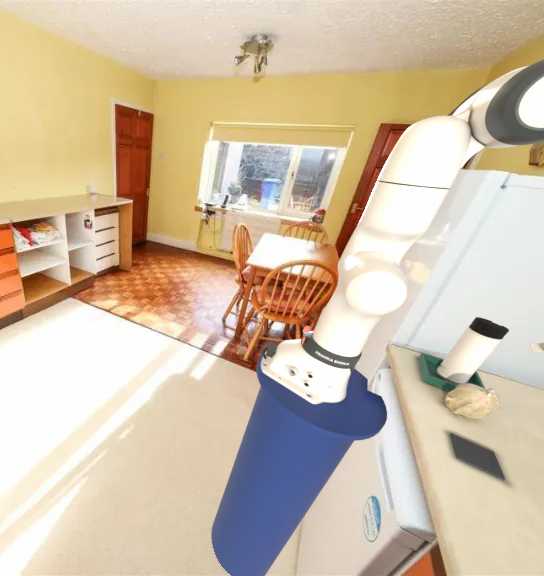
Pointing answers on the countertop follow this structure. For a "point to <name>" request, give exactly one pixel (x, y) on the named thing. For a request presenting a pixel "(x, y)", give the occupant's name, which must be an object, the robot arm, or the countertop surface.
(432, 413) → the countertop surface
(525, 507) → the countertop surface
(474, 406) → the garlic bulb
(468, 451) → the mat
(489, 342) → the travel mug
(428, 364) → the tray
